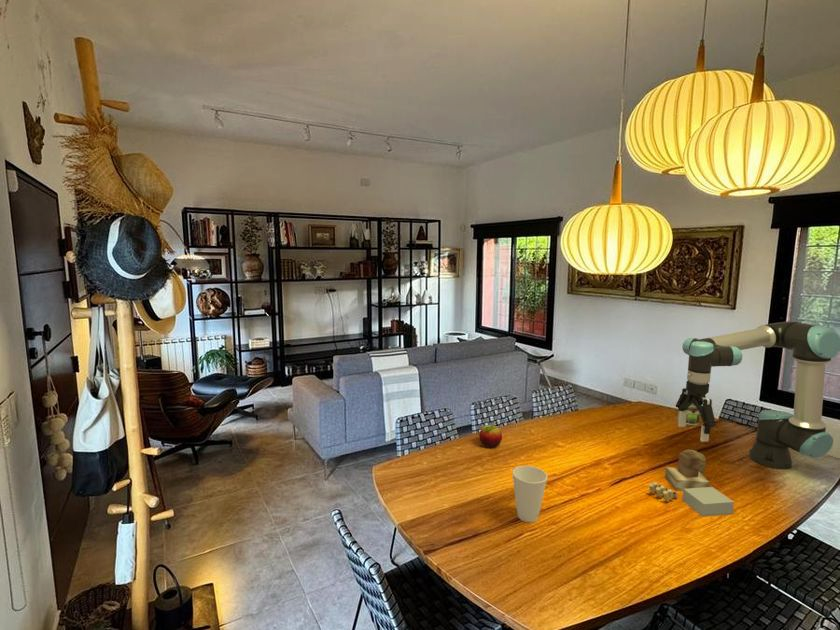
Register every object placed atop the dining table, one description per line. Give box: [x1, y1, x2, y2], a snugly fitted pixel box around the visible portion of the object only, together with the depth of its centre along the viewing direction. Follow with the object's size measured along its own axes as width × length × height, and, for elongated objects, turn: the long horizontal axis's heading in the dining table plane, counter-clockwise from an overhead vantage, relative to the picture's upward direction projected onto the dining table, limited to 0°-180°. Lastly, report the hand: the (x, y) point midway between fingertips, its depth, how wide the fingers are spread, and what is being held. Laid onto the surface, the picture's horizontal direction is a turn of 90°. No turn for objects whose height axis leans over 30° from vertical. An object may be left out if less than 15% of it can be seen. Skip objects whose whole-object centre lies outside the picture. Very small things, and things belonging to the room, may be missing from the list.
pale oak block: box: [664, 466, 710, 492], centre depth 177 cm, size 12×10×5 cm
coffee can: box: [677, 394, 701, 426], centre depth 241 cm, size 10×10×14 cm
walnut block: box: [677, 452, 700, 478], centre depth 176 cm, size 5×5×8 cm
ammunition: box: [648, 481, 678, 503], centre depth 169 cm, size 5×7×8 cm
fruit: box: [478, 424, 503, 449], centre depth 210 cm, size 11×11×10 cm
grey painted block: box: [681, 486, 735, 517], centre depth 162 cm, size 12×10×5 cm
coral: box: [681, 449, 707, 474], centre depth 190 cm, size 9×9×8 cm
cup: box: [511, 465, 548, 523], centre depth 154 cm, size 12×12×16 cm
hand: (692, 433), depth 174 cm, fingers open, 13 cm apart
